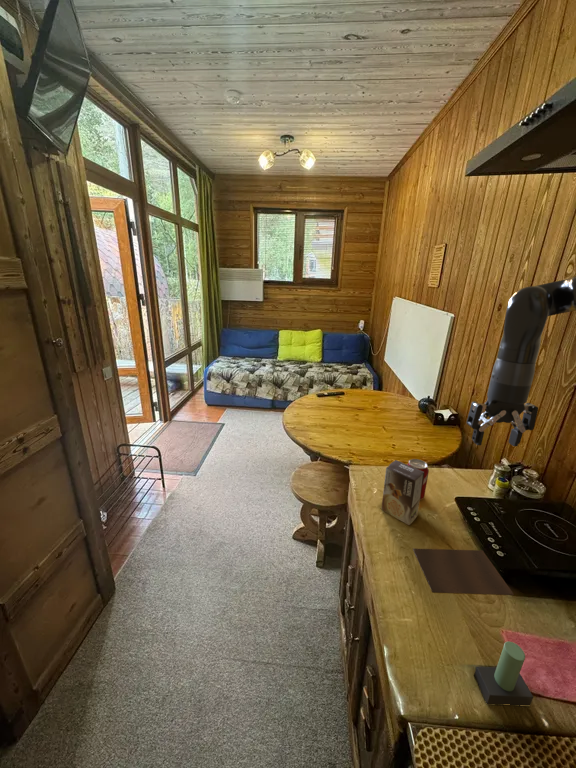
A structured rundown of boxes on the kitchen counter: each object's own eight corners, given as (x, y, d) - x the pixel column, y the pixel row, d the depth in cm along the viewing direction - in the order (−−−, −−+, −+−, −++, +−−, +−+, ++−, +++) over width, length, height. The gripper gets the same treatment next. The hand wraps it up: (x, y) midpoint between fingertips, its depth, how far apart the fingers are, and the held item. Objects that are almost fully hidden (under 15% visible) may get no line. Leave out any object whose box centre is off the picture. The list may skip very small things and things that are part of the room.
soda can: (417, 504, 97) (423, 472, 94) (398, 493, 102) (402, 462, 99) (427, 496, 101) (433, 464, 98) (409, 486, 106) (413, 455, 103)
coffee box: (418, 518, 92) (426, 472, 87) (408, 529, 87) (416, 481, 82) (389, 503, 98) (395, 459, 93) (379, 513, 93) (385, 467, 89)
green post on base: (473, 675, 54) (485, 636, 51) (513, 677, 54) (527, 638, 51) (486, 705, 51) (500, 664, 48) (529, 707, 51) (546, 666, 47)
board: (481, 554, 79) (482, 550, 79) (513, 599, 68) (514, 594, 67) (411, 552, 80) (412, 548, 79) (431, 597, 68) (432, 592, 68)
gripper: (488, 384, 65) (473, 451, 70) (556, 385, 65) (536, 453, 70) (469, 374, 72) (457, 436, 77) (530, 375, 72) (514, 437, 77)
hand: (494, 444), depth 74 cm, fingers open, 8 cm apart
